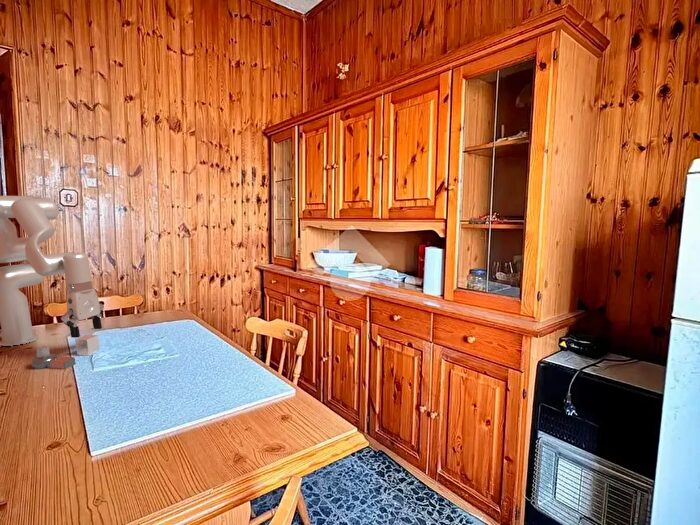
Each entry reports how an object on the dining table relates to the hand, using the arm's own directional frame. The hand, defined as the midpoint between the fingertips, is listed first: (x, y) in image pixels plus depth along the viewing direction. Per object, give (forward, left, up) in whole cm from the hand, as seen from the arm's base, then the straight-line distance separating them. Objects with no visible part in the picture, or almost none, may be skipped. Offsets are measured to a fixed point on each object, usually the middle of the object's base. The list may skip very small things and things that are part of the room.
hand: (87, 332), depth 148 cm
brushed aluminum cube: (-1, 0, -8) cm, 8 cm away
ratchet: (-3, -12, -8) cm, 15 cm away
